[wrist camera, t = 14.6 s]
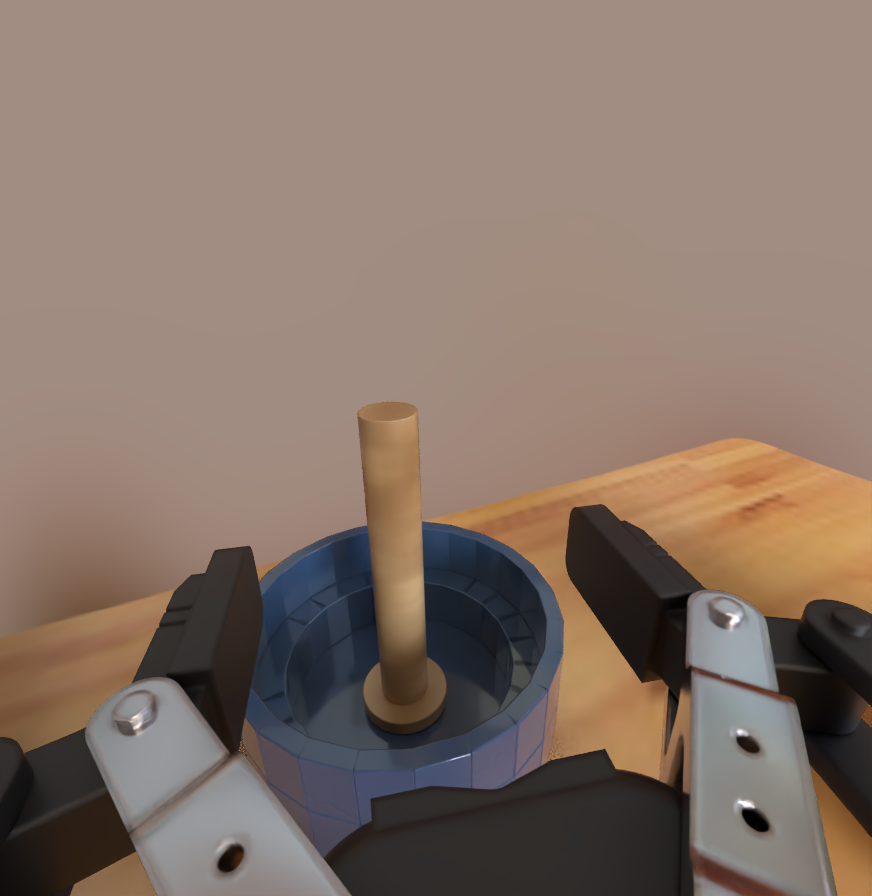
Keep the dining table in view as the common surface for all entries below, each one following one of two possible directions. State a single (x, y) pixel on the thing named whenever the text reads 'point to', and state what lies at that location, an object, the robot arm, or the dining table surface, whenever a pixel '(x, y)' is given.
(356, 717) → the bowl
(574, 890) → the robot arm
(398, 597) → the stirring stick
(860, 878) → the dining table surface
